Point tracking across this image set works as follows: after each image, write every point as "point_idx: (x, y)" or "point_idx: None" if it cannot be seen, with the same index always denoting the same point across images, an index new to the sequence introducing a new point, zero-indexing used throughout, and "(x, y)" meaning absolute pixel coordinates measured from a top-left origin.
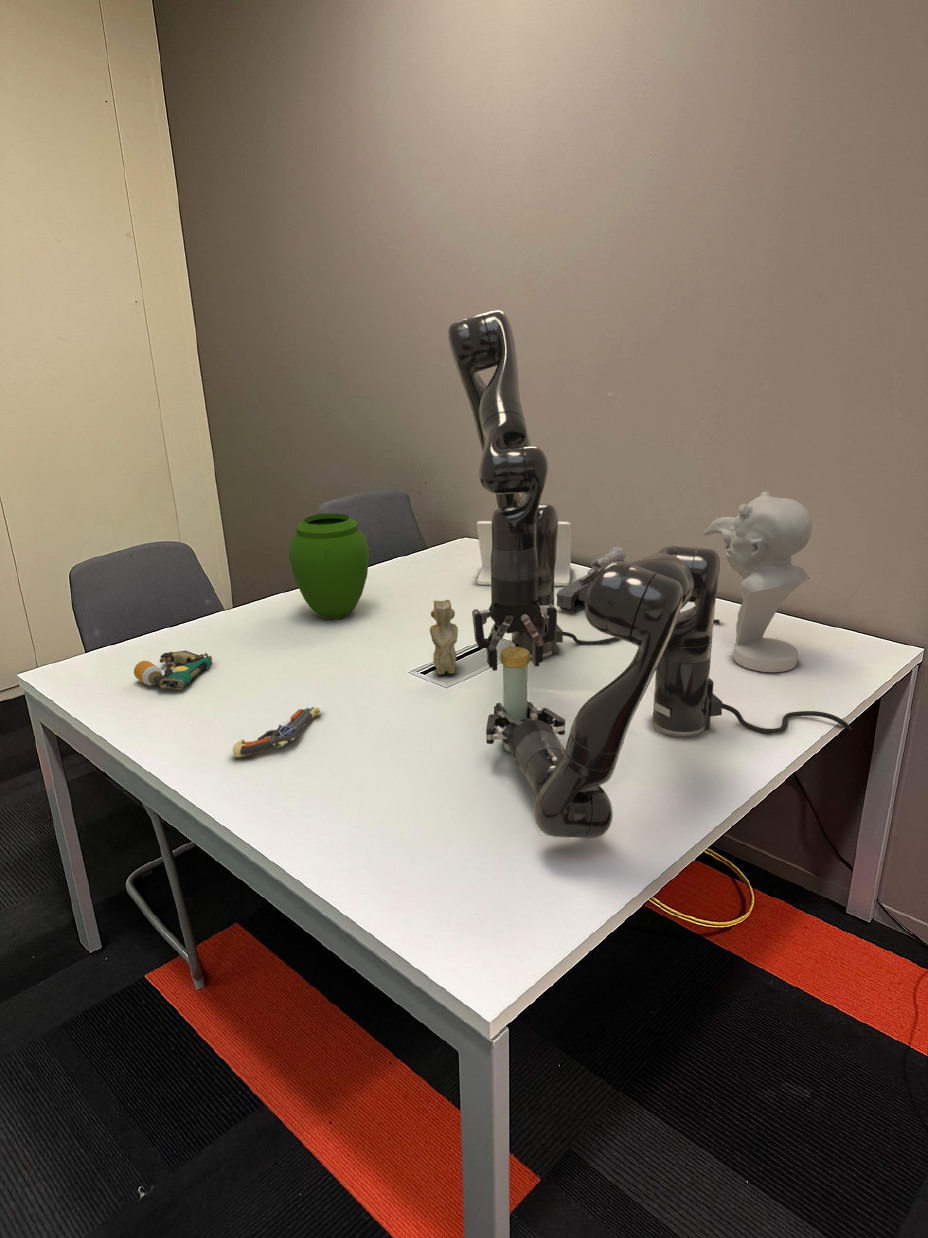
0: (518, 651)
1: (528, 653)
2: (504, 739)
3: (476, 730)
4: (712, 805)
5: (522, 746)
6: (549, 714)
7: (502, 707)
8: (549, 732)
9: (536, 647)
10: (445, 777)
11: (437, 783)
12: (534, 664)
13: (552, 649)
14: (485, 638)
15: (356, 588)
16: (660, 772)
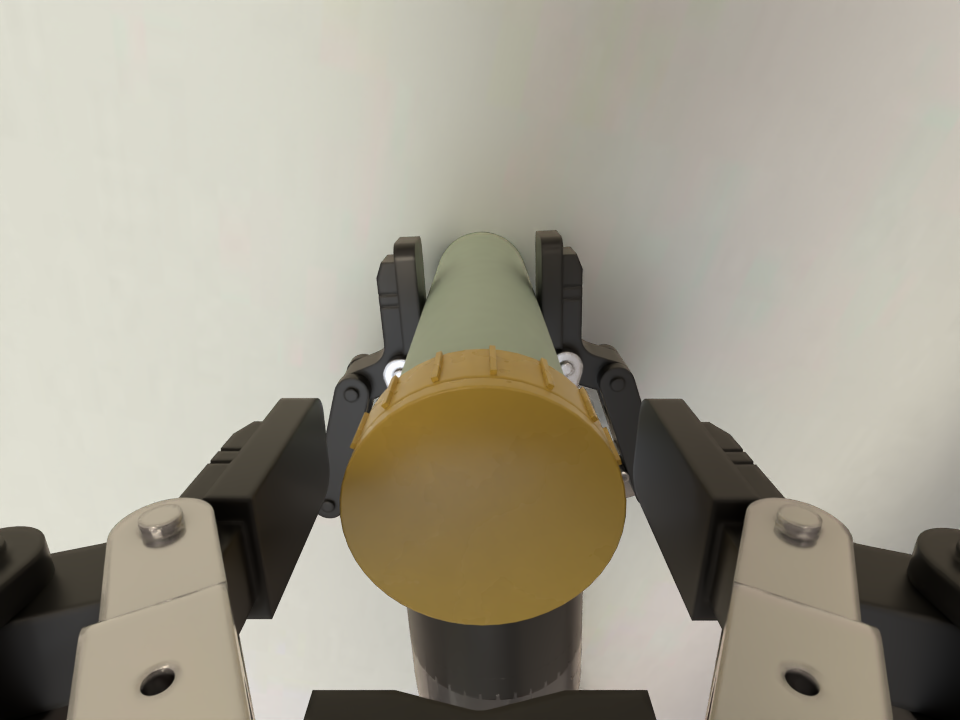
0: (522, 507)
1: (604, 565)
2: None
3: (346, 96)
4: None
5: (426, 691)
6: (619, 434)
7: (416, 315)
8: (542, 688)
9: (702, 618)
10: (218, 417)
11: (194, 444)
12: (638, 468)
13: None
14: (65, 614)
15: None
16: (871, 511)
